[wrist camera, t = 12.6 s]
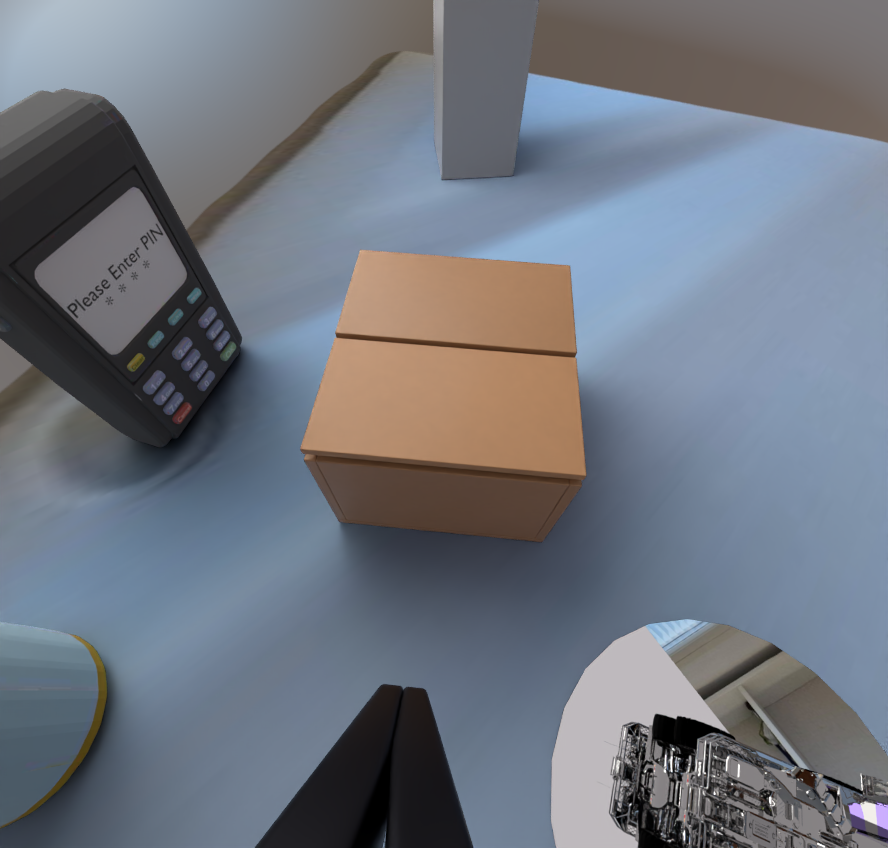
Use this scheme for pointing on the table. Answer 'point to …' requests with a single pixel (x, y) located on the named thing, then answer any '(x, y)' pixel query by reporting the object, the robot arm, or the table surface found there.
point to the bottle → (44, 713)
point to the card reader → (104, 269)
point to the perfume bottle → (480, 83)
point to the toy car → (712, 749)
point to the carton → (458, 326)
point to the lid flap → (449, 409)
